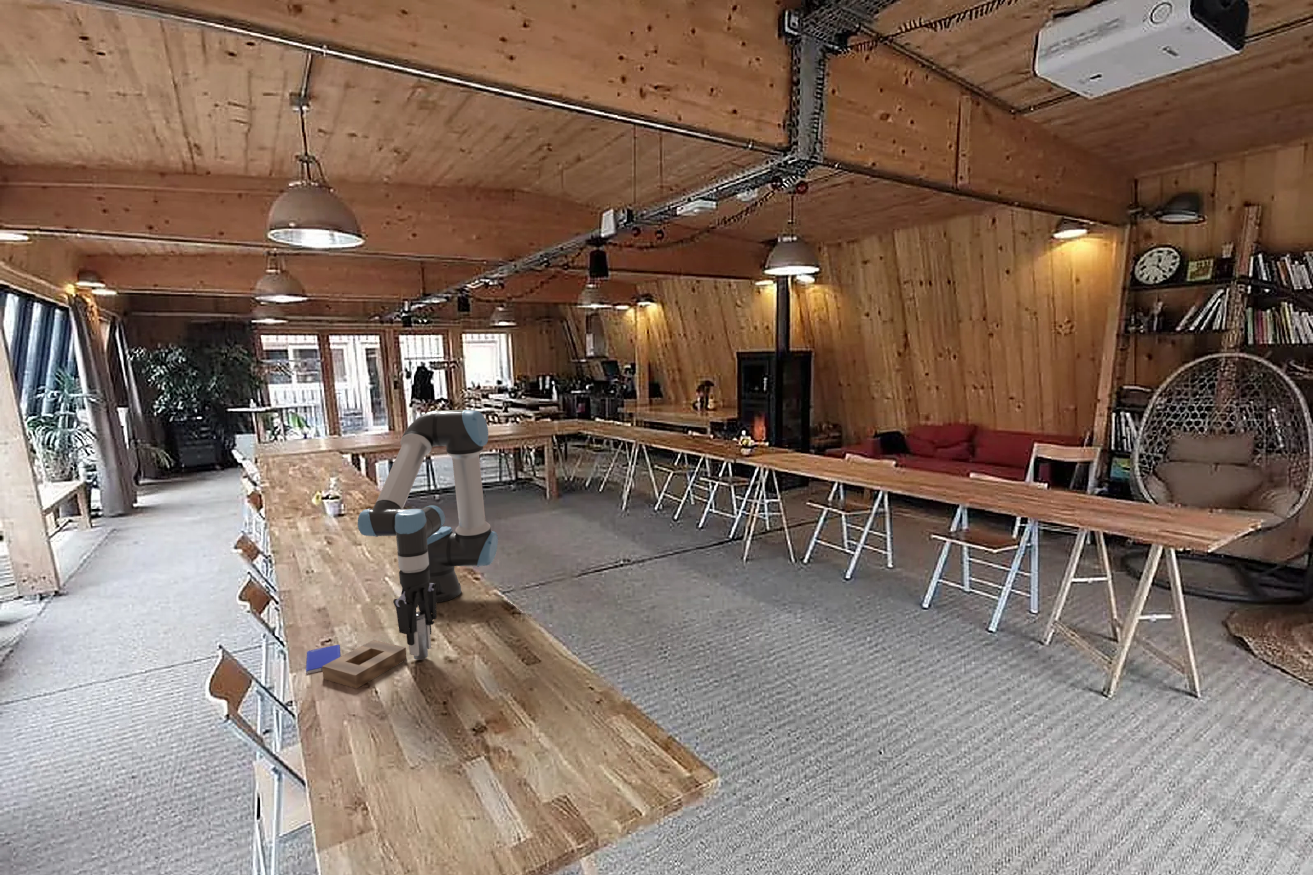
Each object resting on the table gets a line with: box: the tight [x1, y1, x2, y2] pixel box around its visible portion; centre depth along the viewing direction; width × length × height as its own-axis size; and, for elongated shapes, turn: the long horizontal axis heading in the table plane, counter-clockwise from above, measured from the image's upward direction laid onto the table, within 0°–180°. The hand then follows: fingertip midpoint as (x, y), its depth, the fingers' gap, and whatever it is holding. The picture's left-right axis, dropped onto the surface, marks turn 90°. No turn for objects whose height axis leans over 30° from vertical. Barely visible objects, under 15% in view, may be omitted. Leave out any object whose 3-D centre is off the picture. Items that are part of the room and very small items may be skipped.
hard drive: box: [305, 644, 341, 675], centre depth 167 cm, size 2×8×12 cm
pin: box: [413, 611, 429, 661], centre depth 165 cm, size 4×4×12 cm
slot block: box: [322, 639, 408, 689], centre depth 162 cm, size 16×12×4 cm
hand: (420, 650), depth 166 cm, fingers closed on pin, 4 cm apart
